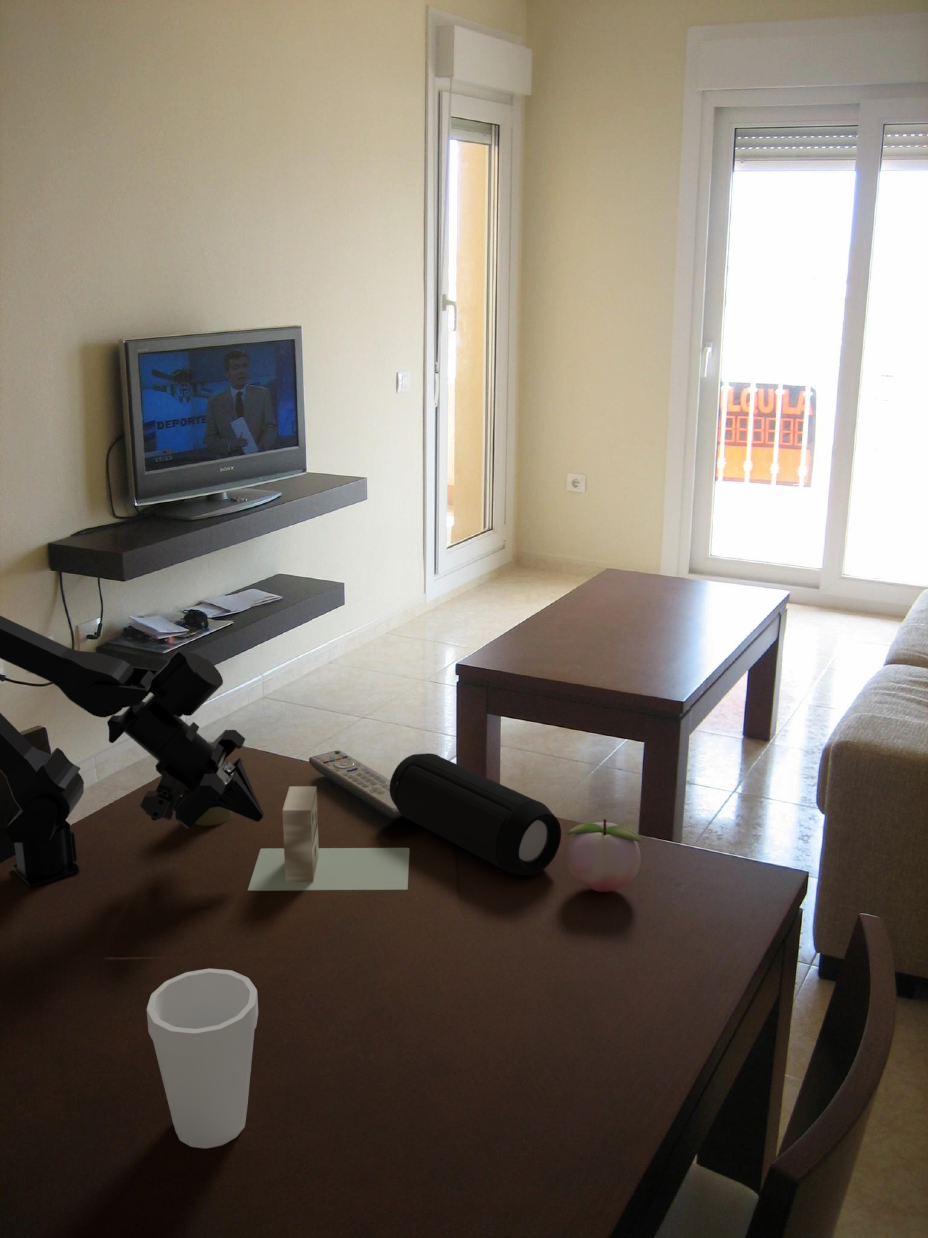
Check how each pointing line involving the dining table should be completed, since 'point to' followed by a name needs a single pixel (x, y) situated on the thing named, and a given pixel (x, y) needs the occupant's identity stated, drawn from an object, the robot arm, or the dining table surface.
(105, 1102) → the dining table surface
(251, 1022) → the foam cup
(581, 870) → the decorative fruit
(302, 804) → the domino
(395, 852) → the plate
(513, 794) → the portable speaker
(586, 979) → the dining table surface
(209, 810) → the cork
